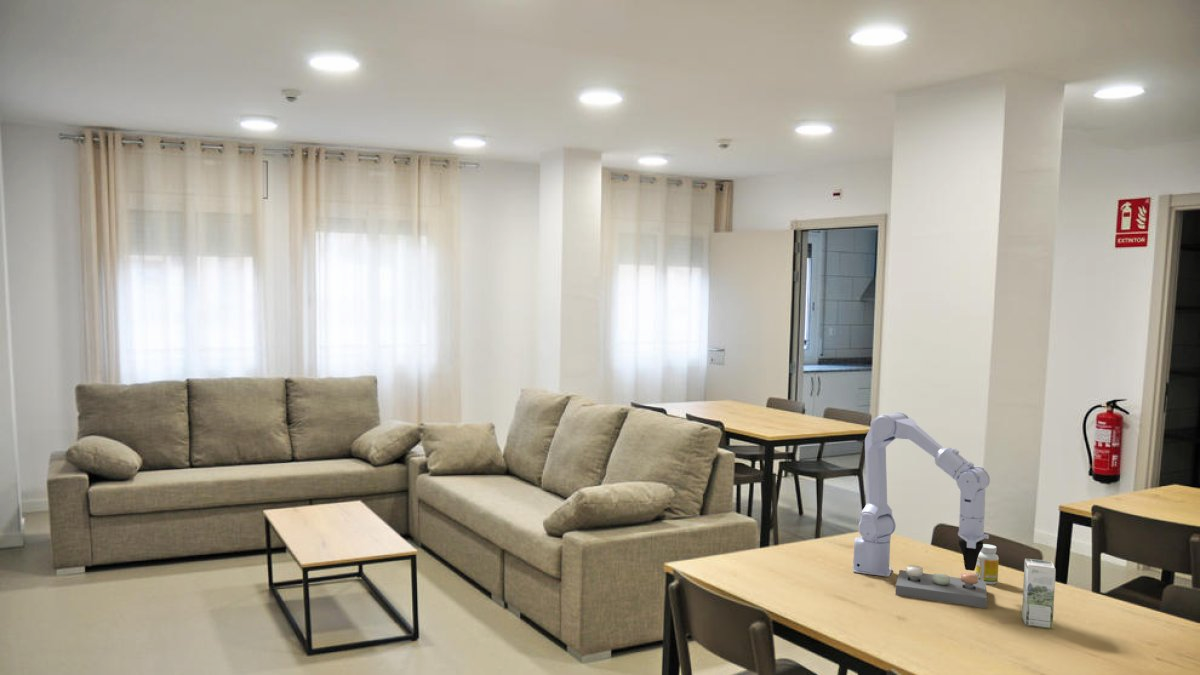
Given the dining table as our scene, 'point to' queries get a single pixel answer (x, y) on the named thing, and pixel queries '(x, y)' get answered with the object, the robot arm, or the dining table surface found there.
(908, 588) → the panel
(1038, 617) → the syrup box
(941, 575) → the button sage
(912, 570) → the button cream
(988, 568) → the supplement bottle
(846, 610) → the dining table surface
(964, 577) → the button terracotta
